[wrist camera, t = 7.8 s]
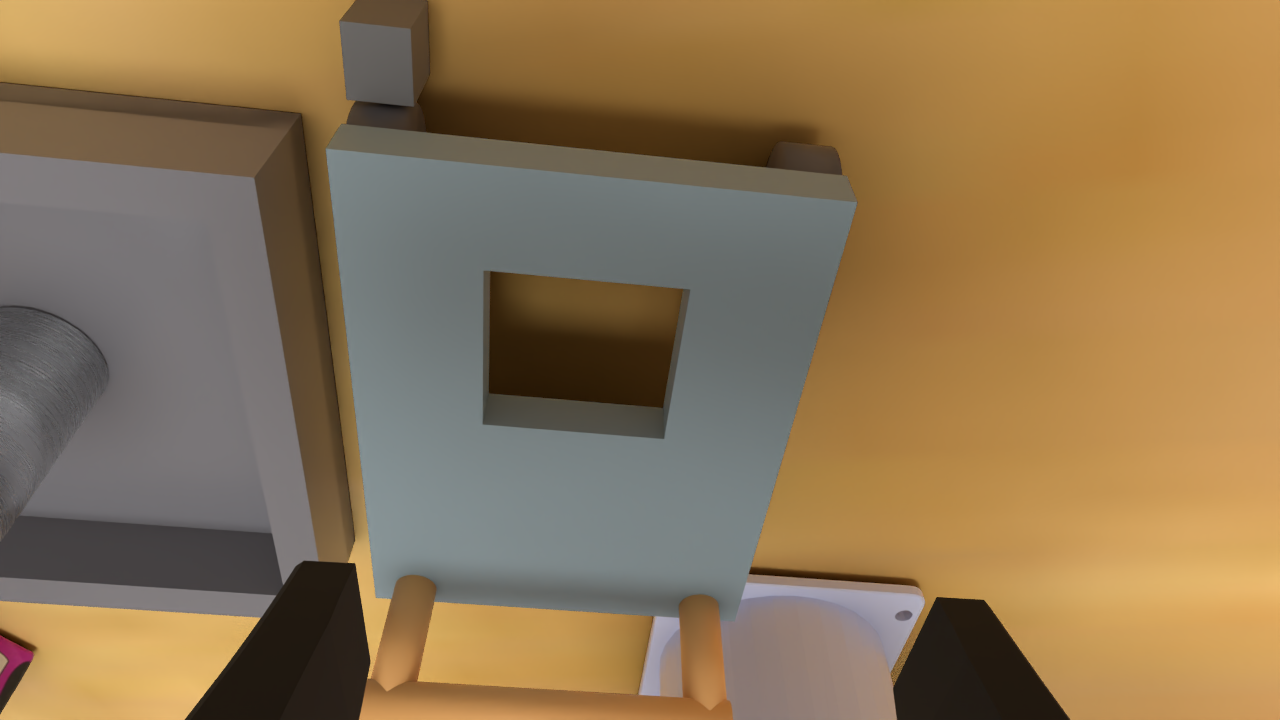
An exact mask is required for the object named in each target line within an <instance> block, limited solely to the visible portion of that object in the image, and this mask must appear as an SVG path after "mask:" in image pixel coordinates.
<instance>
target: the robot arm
mask: <svg viewBox="0 0 1280 720" xmlns="http://www.w3.org/2000/svg"><path fill="white" fill-rule="evenodd" d="M924 605H925V600H924V596H923V593H922V591H921V590H920V589H919V588H917V587H915V586H910V585H896V584H882V583H867V582H853V581H839V580H824V579H810V578H796V577H782V576H767V575H753V574H748V578H747V581H746V585H745V588H744V591H743V595H742V598H741V602H740V605H739V608H738V612H737V615H736V619H735V622H734V621H720V626H721V637H722V649H723V661H724V672H725V684H726V695H727V700H729V701H730V702H731V706H732V714H733V720H1070V719H1069V717H1068V716H1067V715H1066V713H1065V712H1064V711H1063V709H1062V708H1061V706H1060V705H1059V704H1058V702H1057V701H1056V700H1055V698H1054V697H1053V695H1052V694H1051V693H1050V691H1049V690H1048V688H1047V687H1046V686H1045V684H1044V683H1043V682H1042V680H1041V679H1040V677H1039V676H1038V675H1037V673H1036V672H1035V670H1034V669H1033V668H1032V666H1031V665H1030V663H1029V662H1028V660H1027V659H1026V658H1025V656H1024V655H1023V653H1022V652H1021V651H1020V649H1019V648H1018V646H1017V645H1016V644H1015V642H1014V641H1013V639H1012V638H1011V636H1010V635H1009V634H1008V632H1007V631H1006V629H1005V628H1004V627H1003V625H1002V624H1001V622H1000V621H999V619H998V618H997V617H996V615H995V614H994V613H993V611H992V610H991V608H990V607H989V606H988V604H987V603H986V602H985V601H984V600H975V599H958V598H941V597H937V598H936V600H935V602H934V604H933V606H932V608H931V610H930V612H929V614H928V616H927V618H926V621H925V623H924V625H923V627H922V629H921V631H920V633H919V635H918V637H917V639H916V641H915V643H914V646H913V648H912V650H911V652H910V654H909V656H908V658H907V660H906V662H905V664H904V666H903V668H902V670H901V673H900V675H899V677H898V679H897V681H896V683H895V685H894V687H893V683H892V679H891V675H890V673H891V671H892V669H893V667H894V665H895V663H896V661H897V659H898V657H899V655H900V653H901V651H902V649H903V647H904V645H905V643H906V641H907V639H908V637H909V635H910V633H911V631H912V629H913V627H914V625H915V623H916V621H917V619H918V617H919V615H920V613H921V611H922V609H923V607H924ZM369 667H370V655H369V649H368V642H367V636H366V630H365V623H364V617H363V610H362V604H361V598H360V591H359V585H358V579H357V572H356V566H355V563H339V562H322V561H305V560H304V561H303V562H301V563H300V564H298V565H297V566H295V568H294V570H293V571H292V573H291V574H290V576H289V577H288V579H287V580H286V582H285V583H284V585H283V586H282V588H281V589H280V591H279V592H278V594H277V595H276V597H275V598H274V600H273V601H272V603H271V604H270V606H269V607H268V609H267V610H266V612H265V613H264V614H263V616H262V617H261V619H260V620H259V622H258V623H257V624H256V626H255V627H254V629H253V630H252V631H251V633H250V634H249V636H248V637H247V638H246V640H245V641H244V643H243V644H242V645H241V647H240V648H239V649H238V651H237V652H236V653H235V655H234V656H233V658H232V659H231V660H230V662H229V663H228V664H227V666H226V667H225V668H224V670H223V671H222V672H221V674H220V675H219V676H218V678H217V679H216V680H215V681H214V683H213V684H212V685H211V687H210V688H209V689H208V690H207V692H206V693H205V694H204V696H203V697H202V698H201V699H200V701H199V702H198V703H197V705H196V706H195V707H194V708H193V710H192V711H191V712H190V714H189V715H188V716H187V718H186V719H185V720H359V717H360V713H361V708H362V703H363V698H364V692H365V687H366V682H367V677H368V672H369ZM638 695H649V696H666V697H683V691H682V668H681V645H680V623H679V618H674V617H659V616H654V617H653V622H652V627H651V632H650V637H649V642H648V647H647V652H646V657H645V662H644V667H643V672H642V677H641V682H640V687H639V692H638Z"/></svg>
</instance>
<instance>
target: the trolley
mask: <svg viewBox="0 0 1280 720" xmlns="http://www.w3.org/2000/svg"><path fill="white" fill-rule="evenodd" d="M339 23H340V34H341V44H342V55H343V66H344V77H345V87H346V98H347V100H354V101H356V102H355V103H354V105H353V106H352V108H351V111H350V113H349V116H348V120H347V123H346V124H341V125H340V127H339V128H338V130H337V131H336V133H335V135H334V136H333V138H332V139H331V141H330V143H329V144H328V146H327V147H326V156H327V165H328V174H329V183H330V192H331V201H332V210H333V219H334V228H335V237H336V246H337V255H338V264H339V273H340V281H341V290H342V299H343V308H344V317H345V326H346V335H347V344H348V353H349V362H350V371H351V380H352V389H353V398H354V407H355V416H356V424H357V433H358V442H359V451H360V460H361V469H362V478H363V487H364V496H365V505H366V514H367V523H368V532H369V541H370V550H371V558H372V567H373V576H374V585H375V594H376V598H387V599H391V603H390V607H389V611H388V615H387V618H386V622H385V626H384V630H383V634H382V638H381V642H380V645H379V649H378V653H377V657H376V661H375V665H374V669H373V672H372V676H371V679H368V680H367V682H366V687H365V692H364V698H363V703H362V708H361V713H360V717H359V720H733V714H732V706H731V702H730V701H729V700H727V695H726V684H725V672H724V661H723V649H722V637H721V626H720V621H734V622H735V619H736V615H737V612H738V608H739V605H740V602H741V598H742V595H743V591H744V588H745V585H746V581H747V578H748V574H749V571H750V568H751V564H752V561H753V557H754V554H755V551H756V547H757V544H758V540H759V537H760V533H761V530H762V527H763V523H764V520H765V516H766V513H767V510H768V506H769V503H770V499H771V496H772V493H773V489H774V486H775V482H776V479H777V475H778V472H779V469H780V465H781V462H782V458H783V455H784V452H785V448H786V445H787V441H788V438H789V435H790V431H791V428H792V424H793V421H794V418H795V414H796V411H797V407H798V404H799V400H800V397H801V394H802V390H803V387H804V383H805V380H806V377H807V373H808V370H809V366H810V363H811V360H812V356H813V353H814V349H815V346H816V343H817V339H818V336H819V332H820V329H821V325H822V322H823V319H824V315H825V312H826V308H827V305H828V302H829V298H830V295H831V291H832V288H833V285H834V281H835V278H836V274H837V271H838V267H839V264H840V261H841V257H842V254H843V250H844V247H845V244H846V240H847V237H848V233H849V230H850V227H851V223H852V220H853V216H854V213H855V210H856V206H857V203H858V202H857V200H856V197H855V195H854V192H853V190H852V187H851V185H850V182H849V180H848V177H847V176H843V175H842V169H841V163H840V158H839V155H838V153H837V151H836V149H835V148H833V147H831V146H821V145H812V144H802V143H793V142H783V141H780V142H778V143H777V144H776V145H775V146H774V148H773V150H772V152H771V154H770V157H769V159H768V162H767V166H766V167H756V166H746V165H737V164H727V163H717V162H708V161H698V160H688V159H678V158H669V157H659V156H649V155H640V154H630V153H620V152H611V151H601V150H591V149H581V148H572V147H562V146H552V145H543V144H533V143H523V142H514V141H504V140H494V139H484V138H475V137H465V136H455V135H446V134H436V133H426V125H425V119H424V115H423V112H422V109H421V107H420V105H419V104H418V103H416V102H417V100H418V98H419V96H420V94H421V92H422V90H423V87H424V85H425V83H426V81H427V79H428V77H429V75H430V58H429V28H428V1H427V0H356V1H355V2H354V3H353V5H352V6H351V7H350V8H349V10H348V11H347V12H346V13H345V15H344V16H343V17H342V18H341V20H340V21H339ZM490 271H495V272H506V273H517V274H527V275H538V276H549V277H560V278H571V279H581V280H592V281H603V282H614V283H625V284H635V285H646V286H657V287H668V288H679V289H683V293H682V299H681V305H680V311H679V317H678V323H677V329H676V334H675V340H674V346H673V352H672V358H671V364H670V370H669V376H668V381H667V387H666V393H665V399H664V405H663V408H659V407H647V406H635V405H623V404H611V403H599V402H587V401H574V400H562V399H550V398H538V397H526V396H514V395H502V394H490V393H489V334H490ZM434 602H447V603H462V604H477V605H493V606H508V607H523V608H538V609H553V610H568V611H583V612H598V613H613V614H628V615H644V616H659V617H674V618H679V623H680V645H681V668H682V691H683V697H666V696H649V695H633V694H616V693H599V692H583V691H566V690H549V689H532V688H516V687H499V686H482V685H466V684H449V683H432V682H417V680H418V675H419V670H420V666H421V661H422V656H423V652H424V647H425V642H426V638H427V633H428V628H429V623H430V619H431V614H432V609H433V605H434Z"/></svg>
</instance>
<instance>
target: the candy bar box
mask: <svg viewBox="0 0 1280 720" xmlns="http://www.w3.org/2000/svg"><path fill="white" fill-rule="evenodd" d="M33 657H34V653H33V652H32V651H30V650H28V649H25V648H23V647H22V646H20V645H18V644H16V643H14V642H12V641H10V640H8V639H6V638H4V637H2V636H0V714H1V712H2V710H3V709H4V707H5V705H6V704H7V702H8V700H9V699H10V697H11V695H12V694H13V692H14V691H15V689H16V687H17V686H18V684H19V682H20V681H21V679H22V677H23V675H24V674H25V672H26V670H27V669H28V667H29V665H30V663H31V661H32V659H33Z"/></svg>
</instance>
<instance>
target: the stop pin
mask: <svg viewBox="0 0 1280 720" xmlns="http://www.w3.org/2000/svg"><path fill="white" fill-rule="evenodd" d="M108 380H109V372H108V367H107V364H106V362H105V360H104V358H103V356H102V354H101V353H100V351H99V350H98V348H97V347H96V346H95V345H94V344H93V343H92V342H91V340H89V339H88V338H87V337H86V336H85V335H84V334H83V333H81V332H80V331H79V330H77V329H76V328H74V327H73V326H71V325H70V324H68V323H66V322H64V321H63V320H61V319H59V318H56V317H54V316H52V315H49V314H46V313H43V312H40V311H36V310H32V309H27V308H20V307H2V308H0V542H1V541H2V539H3V538H4V536H5V535H6V533H7V532H8V531H9V529H10V528H11V526H12V525H13V523H14V522H15V520H16V519H17V517H18V516H19V515H20V513H21V512H22V510H23V509H24V507H25V506H26V504H27V503H28V501H29V500H30V499H31V497H32V496H33V494H34V493H35V491H36V490H37V488H38V487H39V485H40V484H41V483H42V481H43V480H44V478H45V477H46V475H47V474H48V472H49V471H50V469H51V468H52V467H53V465H54V464H55V462H56V461H57V459H58V458H59V456H60V455H61V453H62V452H63V451H64V449H65V448H66V446H67V445H68V443H69V442H70V440H71V439H72V437H73V436H74V435H75V433H76V432H77V430H78V429H79V427H80V426H81V424H82V423H83V421H84V420H85V419H86V417H87V416H88V414H89V413H90V411H91V410H92V408H93V407H94V405H95V404H96V403H97V401H98V400H99V398H100V397H101V395H102V394H103V392H104V391H105V389H106V387H107V385H108Z"/></svg>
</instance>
